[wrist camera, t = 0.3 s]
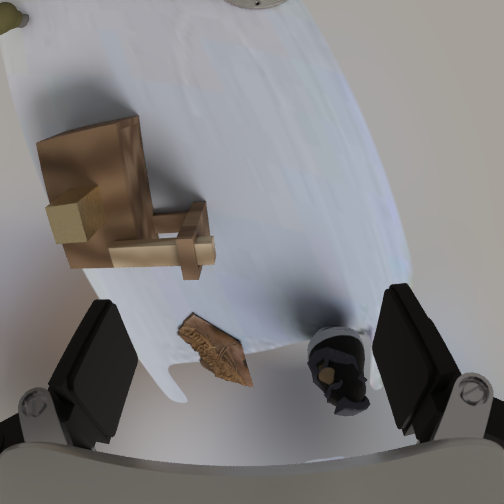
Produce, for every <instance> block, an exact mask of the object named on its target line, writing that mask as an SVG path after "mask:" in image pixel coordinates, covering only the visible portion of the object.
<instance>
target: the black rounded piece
mask: <svg viewBox="0 0 504 504" xmlns="http://www.w3.org/2000/svg"><path fill="white" fill-rule="evenodd" d="M364 361H365V355H364V344H363V341H362V340H361V338H360V336H359V334H358V333H357V332H356V331H355V330H353V329H351V328H347V327H342V326H329V327H324V328H321V329H319V330H318V331H317V332H316V333H315V334H314V336H313V337H312V338H311V340H310V343H309V345H308V366H309V368H310V370H311V373H312V377H313V382H314V383H315V384H316V385H317V386H318V387H319V388H320V389H321V390H322V391H323V392H324V393H325V394H324V395H325V397H326V398H327V403H331V404H332V405H334V406H336V409H335V412H334V414H335V415H342V416H353V415H356V414H358V413H360V412H362V411H364V410H366V409H367V408H368V407H369V405H370V402H369V400H368V398H367V397H366V396H365V393H366V385H365V382H366V381H367V379H366V378H365V377H364Z"/></svg>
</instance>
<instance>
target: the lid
mask: <svg viewBox="0 0 504 504" xmlns="http://www.w3.org/2000/svg"><path fill="white" fill-rule="evenodd" d="M36 145H37V150H38V155H39V160H40V165H41V170H42V174H43V178H44V182H45V186H46V190H47V194H48V198H49V202H50V204H49V205H48V206H47V207H46V212H47V216H48V219H49V222H50V225H51V229H52V232H53V234H54V238H55V241H56V244H62V245H63V247H64V251H65V254H66V256H67V259H68V262H69V265H70V267H71V269H73V268H75V269H76V268H114V266H113V263H112V259H111V256H110V253H109V249H108V248H109V247H110V245H111V244H112V243H113V241H124V240H141V236H140V232H139V227H138V223H137V218H136V213H135V209H134V204H133V199H132V194H131V189H130V183H129V178H128V172H127V167H126V161H125V155H124V148H123V142H122V135H121V128H120V122H118V123H113V124H108V125H103V126H99V127H94V128H90V129H85V130H81V131H77V132H73V133H69V134H65V135H61V136H57V137H54V138H50V139H47V140H43V141H40V142H38V143H36Z"/></svg>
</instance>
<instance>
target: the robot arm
mask: <svg viewBox="0 0 504 504" xmlns="http://www.w3.org/2000/svg"><path fill="white" fill-rule="evenodd" d="M224 1H225V2H227V3H229V4H231V5H233V6H237V7H240V8H245V9H266V8H271V7H274V6H278V5H280V4H282V3H284V2H286V1H287V0H224ZM256 3H259V5H258V6H257V5H256ZM372 350H373V355H374V358H375V361H376V363H377V366H378V369H379V372H380V375H381V378H382V381H383V384H384V387H385V390H386V393H387V396H388V400H389V403H390V406H391V409H392V413H393V416H394V419H395V422H396V425H397V428H398V429H402V431H403V434H404V436H407V435H411V434H415V435H416V438H417V440H418V442H417V444H416V445H411V446H406V447H402V448H398V449H393V450H388V451H384V452H378V453H373V454H368V455H362V456H356V457H350V458H344V459H337V460H329V461H321V462H312V463H301V464H288V465H271V466H210V465H192V464H179V463H169V462H159V461H151V460H144V459H137V458H131V457H125V456H119V455H113V454H108V453H103V452H98V451H96V449H95V447H94V446H95V443H96V442H101V443H106V444H109V442H110V439H111V437H113V436H114V435H115V433H116V430H117V427H118V423H119V419H120V417H121V413H122V410H123V407H124V403H125V400H126V397H127V394H128V391H129V387H130V385H131V381H132V378H133V375H134V372H135V369H136V366H137V363H138V357H137V353H136V351H135V349H134V347H133V344H132V342H131V340H130V338H129V335H128V333H127V330H126V328H125V326H124V323H123V321H122V318H121V316H120V313H119V311H118V308H117V306H116V305H115V304H114V303H112V301H111V300H108V299H105V300H94V301H93V303H92V305H91V306H90V308H89V309H88V311H87V313H86V314H85V316H84V318H83V320H82V321H81V323H80V325H79V327H78V329H77V330H76V332H75V334H74V335H73V337H72V339H71V341H70V343H69V344H68V346H67V348H66V350H65V352H64V354H63V356H62V358H61V359H60V362H59V363H58V365H57V367H56V369H55V371H54V373H53V375H52V377H51V379H50V381H49V383H48V385H49V388H48V390H46V389H45V388H41V387H36V388H33V389H30V390H29V391H27V392H26V393H25V394H24V395H23V396H22V397H21V399H20V401H19V405H18V413H17V414H15V415H13V416H12V417H10V418H8V419H6V420H4V421H2V422H0V504H504V401H501V400H499V399H497V398H494V397H493V389H492V386H491V384H490V382H489V381H488V380H487V379H486V378H485V377H484V376H482V375H480V374H477V373H465V374H463V375H462V374H461V372H460V371H459V369H458V367H457V365H456V363H455V361H454V359H453V357H452V355H451V353H450V352H449V350H448V348H447V346H446V344H445V342H444V341H443V339H442V337H441V335H440V334H439V332H438V330H437V329H436V327H435V325H434V323H433V322H432V320H431V319H430V318H428V317H427V315H426V313H425V311H424V310H423V308H422V307H421V305H420V303H419V302H418V300H417V298H416V297H415V295H414V293H413V292H412V290H411V289H410V287H409V285H408V284H407V283H402V284H392V285H390V287H389V289H386V290H385V292H384V297H383V301H382V306H381V311H380V315H379V320H378V324H377V328H376V332H375V336H374V340H373V345H372Z"/></svg>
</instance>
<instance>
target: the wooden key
mask: <svg viewBox="0 0 504 504" xmlns="http://www.w3.org/2000/svg"><path fill="white" fill-rule="evenodd" d="M194 244H195V251H196V257H197V263H198V265H214V264H215V259H216V252H215V244H214V236H199V237H196V240H195V243H194ZM108 249H109V253H110V256H111V259H112V263H113V266H114V268H120V267H154V266H181V265H180V260H179V254H178V249H177V244H176V238H160V239H142V240H124V241H113V243H112V244H111V245H110V247H109V248H108Z"/></svg>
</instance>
